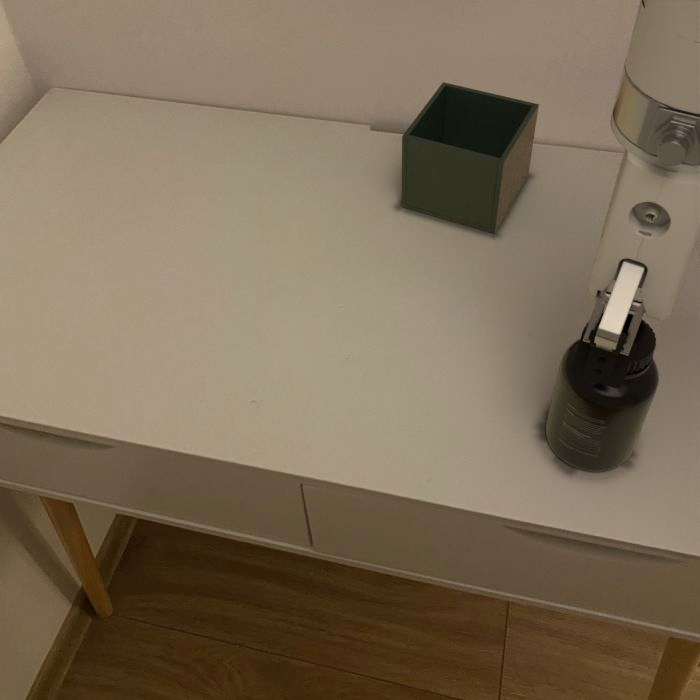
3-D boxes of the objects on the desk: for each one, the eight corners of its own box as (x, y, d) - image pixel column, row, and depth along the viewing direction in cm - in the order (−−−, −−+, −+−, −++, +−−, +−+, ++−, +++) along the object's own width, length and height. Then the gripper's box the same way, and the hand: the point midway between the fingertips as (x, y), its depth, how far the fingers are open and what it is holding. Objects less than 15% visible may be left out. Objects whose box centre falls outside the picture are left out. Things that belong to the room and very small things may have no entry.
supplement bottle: (651, 456, 63) (695, 356, 54) (574, 487, 62) (605, 389, 52) (601, 391, 67) (634, 288, 58) (528, 418, 66) (549, 317, 57)
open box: (528, 175, 86) (539, 104, 79) (494, 233, 80) (503, 162, 74) (439, 152, 89) (442, 81, 83) (401, 206, 83) (401, 136, 77)
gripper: (736, 230, 36) (640, 445, 49) (794, 38, 46) (700, 260, 59) (569, 184, 38) (520, 401, 51) (658, 10, 48) (597, 230, 61)
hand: (616, 326), depth 55 cm, fingers open, 9 cm apart
